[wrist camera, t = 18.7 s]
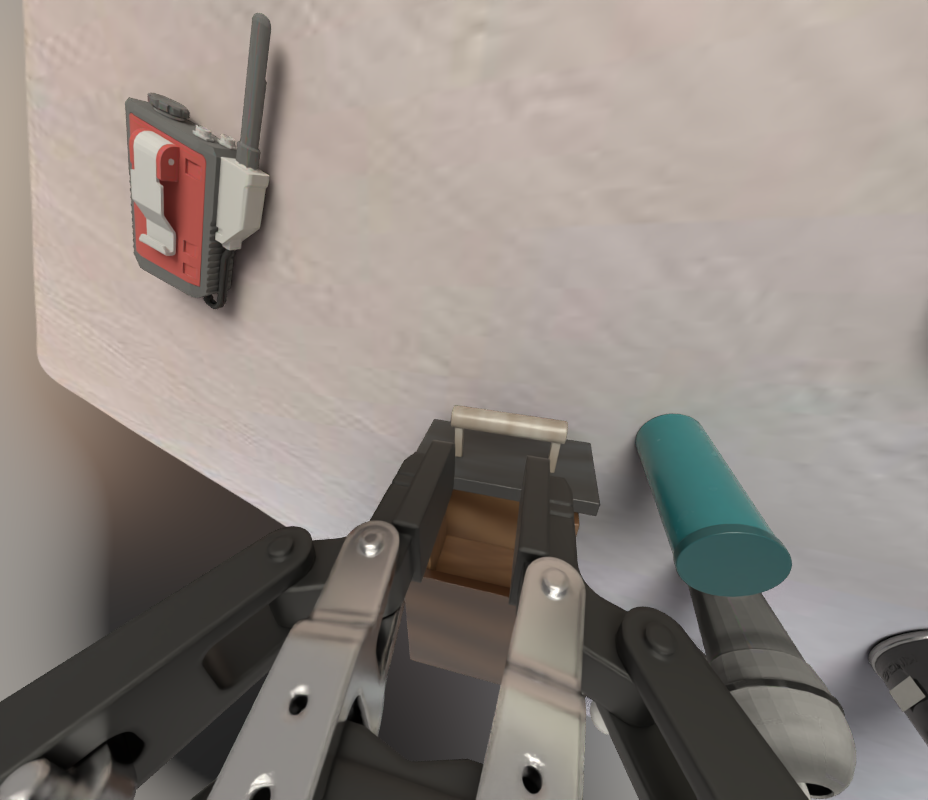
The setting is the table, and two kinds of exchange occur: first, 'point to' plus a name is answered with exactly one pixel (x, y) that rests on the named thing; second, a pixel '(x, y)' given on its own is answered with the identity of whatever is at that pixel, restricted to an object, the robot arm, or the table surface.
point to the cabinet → (460, 624)
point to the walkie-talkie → (196, 185)
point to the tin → (708, 512)
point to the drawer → (500, 486)
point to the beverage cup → (777, 690)
